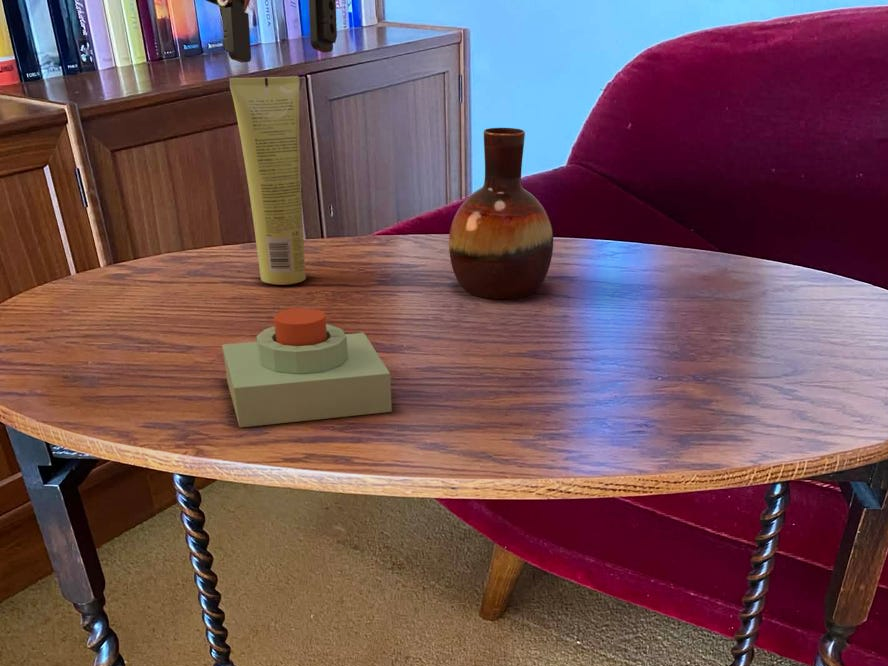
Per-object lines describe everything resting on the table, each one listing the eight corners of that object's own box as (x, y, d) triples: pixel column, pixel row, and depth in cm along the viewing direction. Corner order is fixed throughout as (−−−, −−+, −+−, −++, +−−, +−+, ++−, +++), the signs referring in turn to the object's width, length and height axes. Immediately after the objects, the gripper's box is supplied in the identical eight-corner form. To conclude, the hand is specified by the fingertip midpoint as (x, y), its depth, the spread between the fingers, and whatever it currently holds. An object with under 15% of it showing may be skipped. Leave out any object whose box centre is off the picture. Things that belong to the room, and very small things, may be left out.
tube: (273, 271, 109) (252, 72, 97) (315, 274, 108) (299, 74, 97) (253, 285, 104) (228, 78, 93) (297, 288, 104) (277, 80, 92)
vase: (524, 310, 99) (531, 143, 90) (430, 294, 103) (428, 133, 94) (566, 284, 107) (577, 128, 98) (477, 270, 111) (480, 119, 102)
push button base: (239, 427, 74) (230, 364, 71) (227, 381, 82) (218, 322, 79) (391, 412, 77) (389, 350, 74) (366, 368, 84) (363, 311, 82)
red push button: (280, 351, 74) (277, 325, 73) (273, 335, 78) (270, 309, 76) (331, 347, 75) (329, 321, 74) (322, 331, 79) (320, 306, 77)
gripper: (164, -183, 75) (184, 54, 80) (313, -224, 69) (324, 35, 74) (228, -144, 82) (242, 73, 87) (370, -179, 76) (376, 56, 81)
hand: (280, 55), depth 81 cm, fingers open, 8 cm apart
